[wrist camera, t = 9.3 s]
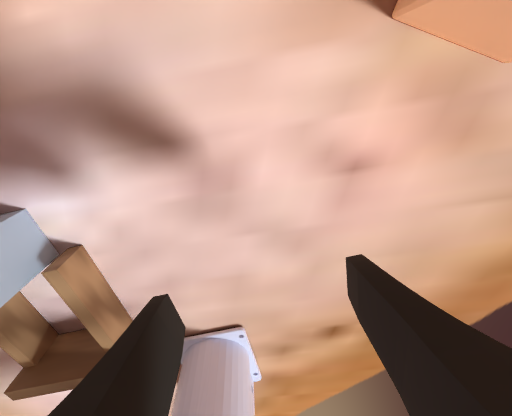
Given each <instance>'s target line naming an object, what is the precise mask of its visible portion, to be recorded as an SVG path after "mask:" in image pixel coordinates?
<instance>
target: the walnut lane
mask: <svg viewBox="0 0 512 416" xmlns="http://www.w3.org/2000/svg"><path fill="white" fill-rule="evenodd" d="M41 274H42V275H43V276H44V277H45V278H46V280H47V281H48V282H49V283H50V285H51V286H52V287H53V288H54V289H55V291H56V292H57V293H58V294H59V296H60V297H61V298H62V299H63V300H64V302H65V303H66V304H67V305H68V307H69V308H70V309H71V310H72V311H73V313H74V314H75V315H76V316H77V318H78V319H79V320H80V321H81V323H82V324H83V325H84V326H85V327H86V329H85V330H80V331H75V332H70V333H65V334H60V335H59V334H58V333H57V332H56V331H55V330H54V329H53V328H52V327H51V326H50V324H49V323H48V322H47V321H46V320H45V319H44V318H43V317H42V316H41V315H40V313H39V312H38V311H37V310H36V309H35V308H34V307H33V306H32V305H31V304H30V303H29V301H28V300H27V299H26V298H25V297H24V296H23V295H22V294H21V293H20V292H17V293H16V294H15V295H14V296H13V297H12V298H11V299H10V300H9V301H8V302H6V303H5V304H4V305H3V306H2V307H1V308H0V347H1V348H2V349H3V350H4V351H5V352H6V353H7V354H9V355H10V356H11V357H12V358H13V359H14V360H15V361H16V362H18V363H19V364H20V365H21V366H22V367H23V369H22V370H21V372H20V373H19V374H18V375H17V377H16V378H15V379H14V380H13V382H12V383H11V384H10V386H9V387H8V388H7V389H6V391H5V392H4V394H5V395H7V396H8V397H9V398H11V399H12V400H19V399H24V398H29V397H35V396H40V395H45V394H50V393H56V392H61V391H66V390H72V389H74V388H75V387H76V386H77V385H78V384H79V383H80V382H81V381H82V380H83V379H84V377H85V376H86V375H87V374H88V373H89V372H90V371H91V370H92V368H93V367H94V366H95V365H96V364H97V363H98V362H99V361H100V359H101V358H102V357H103V356H104V355H105V354H106V353H107V352H108V350H109V349H110V348H111V347H112V346H113V344H114V343H115V342H116V341H117V340H118V338H119V337H120V336H121V335H122V334H123V333H124V331H125V330H126V329H127V328H128V327H129V325H130V324H131V323H132V322H133V320H132V319H131V317H130V316H129V314H128V313H127V311H126V310H125V308H124V307H123V305H122V304H121V302H120V301H119V299H118V298H117V296H116V295H115V293H114V292H113V290H112V289H111V287H110V286H109V284H108V283H107V281H106V280H105V278H104V277H103V275H102V274H101V272H100V271H99V269H98V268H97V266H96V265H95V263H94V262H93V260H92V259H91V257H90V256H89V254H88V253H87V251H86V250H85V248H84V247H83V245H80V246H76V247H71V248H68V249H67V250H66V251H65V252H64V253H63V254H61V255H60V256H59V257H58V258H57V259H56V260H55V261H54V262H53V263H52V264H50V265H49V266H48V267H47V268H46V269H45V270H44V271H43V272H42V273H41Z"/></svg>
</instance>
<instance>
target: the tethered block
mask: <svg viewBox="0 0 512 416" xmlns="http://www.w3.org/2000/svg"><path fill="white" fill-rule="evenodd" d="M58 255H59V253H58V252H57V251H56V249H55V248H54V247H53V245H52V244H51V242H50V241H49V240H48V238H47V237H46V236H45V234H44V233H43V232H42V230H41V229H40V228H39V226H38V225H37V224H36V222H35V221H34V220H33V218H32V217H31V215H30V214H29V213H28V211H27V210H26V209H23V210H18V211H14V212H10V213H5V214H1V215H0V308H1V307H2V306H3V305H4V304H5V303H6V302H8V301H9V300H10V299H11V298H12V297H13V296H14V295H15V294H16V293H17V292H19V291H20V290H21V289H22V288H23V287H24V286H25V285H26V284H27V283H29V282H30V281H31V280H32V279H33V278H34V277H35V276H36V275H37V274H38V273H40V272H41V271H42V270H43V269H44V268H45V267H46V266H47V265H48V264H50V263H51V262H52V261H53V260H54V259H55V258H56V257H57V256H58Z"/></svg>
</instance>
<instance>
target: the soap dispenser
mask: <svg viewBox="0 0 512 416" xmlns="http://www.w3.org/2000/svg"><path fill="white" fill-rule="evenodd" d="M392 17H393V19H395V20H398V21H400V22H403V23H405V24H408V25H410V26H413V27H415V28H418V29H420V30H423V31H425V32H428V33H430V34H433V35H436V36H438V37H441V38H443V39H446V40H448V41H451V42H453V43H456V44H458V45H461V46H463V47H466V48H468V49H471V50H473V51H476V52H478V53H481V54H483V55H486V56H488V57H491V58H493V59H496V60H498V61H501V62H503V63H509V62H512V0H398V1H397V4H396V6H395V8H394V11H393V13H392Z"/></svg>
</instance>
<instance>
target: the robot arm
mask: <svg viewBox="0 0 512 416" xmlns="http://www.w3.org/2000/svg"><path fill="white" fill-rule="evenodd" d="M346 270H347V288H348V296H349V299H350V301H351V304H352V306H353V309H354V311H355V313H356V315H357V318H358V320H359V322H360V324H361V326H362V327H363V329H364V331H365V333H366V335H367V336H368V338H369V340H370V342H371V344H372V345H373V347H374V349H375V351H376V352H377V354H378V356H379V358H380V360H381V361H382V363H383V365H384V367H385V368H386V370H387V372H388V374H389V376H390V377H391V379H392V381H393V383H394V385H395V387H396V389H397V390H398V392H399V394H400V396H401V398H402V400H403V402H404V405H405V407H406V409H407V411H408V413H409V415H410V416H512V348H510V347H508V346H506V345H504V344H502V343H500V342H498V341H496V340H494V339H492V338H490V337H489V336H487V335H485V334H483V333H481V332H480V331H478V330H476V329H474V328H472V327H471V326H469V325H467V324H465V323H463V322H462V321H460V320H458V319H456V318H455V317H453V316H451V315H450V314H448V313H446V312H445V311H443V310H442V309H440V308H438V307H437V306H435V305H434V304H432V303H430V302H429V301H427V300H426V299H424V298H423V297H421V296H420V295H418V294H417V293H415V292H414V291H412V290H411V289H409V288H408V287H406V286H405V285H403V284H402V283H401V282H399V281H398V280H396V279H395V278H393V277H392V276H391V275H389V274H388V273H387V272H385V271H384V270H382V269H381V268H380V267H378V266H377V265H376V264H374V263H373V262H372V261H370V260H369V259H367V258H366V257H365V256H363V255H362V254H361V255H356V256H351V257H346ZM184 336H185V326H184V324H183V322H182V320H181V318H180V316H179V314H178V312H177V310H176V309H175V307H174V305H173V303H172V301H171V299H170V297H169V295H168V294H165V295H160V296H155V297H153V298H152V299H151V300H150V301H149V302H148V304H147V305H146V306H145V307H144V308H143V309H142V311H141V312H140V313H139V314H138V316H137V317H136V318H135V319H134V320H133V322H132V323H131V324H130V325H129V327H128V328H127V329H126V330H125V331H124V333H123V334H122V335H121V336H120V337H119V338H118V340H117V341H116V342H115V343H114V344H113V346H112V347H111V348H110V349H109V350H108V352H107V353H106V354H105V355H104V356H103V357H102V358H101V359H100V361H99V362H98V363H97V364H96V365H95V366H94V367H93V368H92V370H91V371H90V372H89V373H88V374H87V375H86V376H85V377H84V379H83V380H82V381H81V382H80V383H79V384H78V385H77V386H76V387H75V388H74V389H73V390H72V391H71V392H70V394H69V395H68V396H67V397H66V398H65V399H64V400H63V401H62V402H61V403H60V404H59V405H58V406H57V407H56V408H55V409H54V410H53V411H52V412H51V413H50V414H49V415H48V416H168V414H169V410H170V405H171V401H172V397H173V393H174V388H175V384H176V380H177V376H178V371H179V367H180V363H181V365H182V367H181V372H180V376H179V381H178V386H177V390H176V395H175V399H174V404H173V409H172V413H171V416H255V407H254V382H256V381H260V380H261V373H260V370H259V367H258V365H257V362H256V359H255V356H254V354H253V351H252V348H251V345H250V343H249V340H248V337H247V334H246V331H245V329H244V328H243V327H237V328H232V329H227V330H222V331H217V332H212V333H206V334H201V335H196V336H191V337H186V338H184Z"/></svg>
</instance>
